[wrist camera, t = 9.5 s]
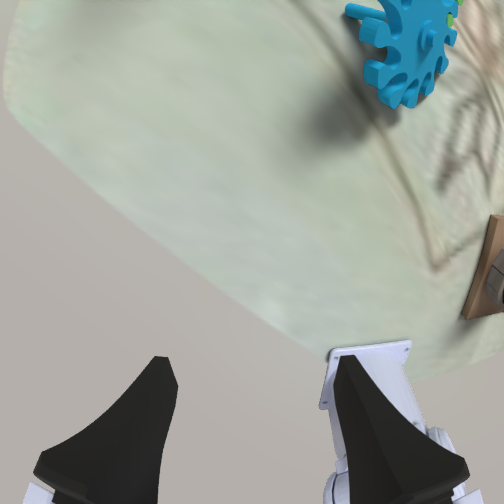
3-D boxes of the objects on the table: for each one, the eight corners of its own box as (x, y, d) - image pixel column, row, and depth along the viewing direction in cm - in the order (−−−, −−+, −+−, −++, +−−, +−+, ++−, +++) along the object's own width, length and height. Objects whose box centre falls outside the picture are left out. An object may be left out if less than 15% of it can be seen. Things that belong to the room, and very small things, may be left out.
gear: (396, 145, 14) (363, -4, 6) (325, 101, 17) (255, -17, 8) (470, 58, 12) (464, -56, 3) (406, 27, 15) (376, -75, 6)
